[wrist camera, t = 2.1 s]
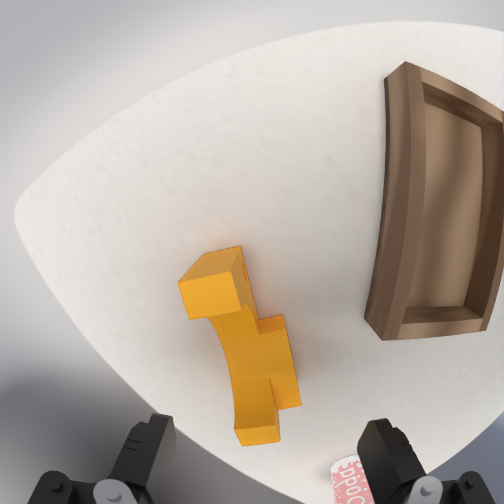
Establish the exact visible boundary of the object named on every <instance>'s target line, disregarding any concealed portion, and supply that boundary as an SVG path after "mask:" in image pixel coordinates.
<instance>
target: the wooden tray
mask: <svg viewBox="0 0 504 504" xmlns="http://www.w3.org/2000/svg"><path fill="white" fill-rule="evenodd" d="M384 84H385V102H386V161H385V181H384V194H383V206H382V216H381V224H380V233H379V240H378V247H377V254H376V260H375V266H374V272H373V277H372V283H371V288H370V293H369V298H368V302H367V307H366V312H365V316H364V319H365V320H366V321H367V323H368V324H369V325H370V326H371V327H372V329H373V330H374V331H375V333H376V334H377V335H378V336H379V338H380V339H381V340H382V341H386V340H404V339H418V338H430V337H440V336H449V335H457V334H465V333H472V332H479V331H486V329H487V326H488V323H489V320H490V317H491V314H492V311H493V308H494V304H495V301H496V297H497V293H498V289H499V285H500V281H501V277H502V272H503V268H504V112H503V111H502V110H500V109H499V108H497V107H496V106H494V105H493V104H491V103H490V102H488V101H486V100H485V99H483V98H481V97H480V96H478V95H476V94H475V93H473V92H471V91H469V90H467V89H466V88H464V87H462V86H460V85H458V84H456V83H454V82H452V81H450V80H448V79H446V78H444V77H442V76H440V75H438V74H435V73H433V72H431V71H428V70H426V69H424V68H421V67H419V66H416V65H414V64H411V63H409V62H406V61H405V62H404V63H403V64H402V65H400V66H399V67H398V68H397V69H396V70H394V71H393V72H392V73H391V74H390V75H388V76H387V77H386V78H385V79H384Z"/></svg>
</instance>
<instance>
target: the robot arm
mask: <svg viewBox="0 0 504 504" xmlns="http://www.w3.org/2000/svg"><path fill="white" fill-rule="evenodd" d="M175 447H176V434H175V429H174V423H173V417H172V416H168V415H163V414H158V413H153V414H152V416H151V418H150V420H149V423H144V422H139V423H138V424H137V425H135V426H134V427H133V428H132V429H131V430H130V433H129V435H128V437H127V440H126V441H125V443H124V445H123V448H122V450H121V452H120V454H119V456H118V458H117V460H116V463H115V465H114V467H113V469H112V471H111V473H110V475H109V476H108V478H106V479H105V480H103V481H100V482H99V483H84V482H78V481H72V480H70V479H69V478H68V477H67V476H66V475H65V474H63V473H61V472H59V471H48V472H46V473H44V474H43V475H42V476H41V478H40V480H39V482H38V484H37V486H36V487H35V489H34V491H33V493H32V496H31V497H30V499H29V502H28V504H160V503H161V499H162V495H163V492H164V488H165V484H166V481H167V477H168V474H169V470H170V466H171V463H172V459H173V456H174V452H175ZM357 452H358V456H359V459H360V461H361V464H362V467H363V470H364V473H365V476H366V479H367V482H368V485H369V488H370V491H371V494H372V497H373V500H374V503H375V504H495V502H494V500H493V498H492V496H491V494H490V492H489V490H488V488H487V486H486V484H485V483H484V481H483V479H482V477H481V476H480V475H479V474H478V473H477V472H474V471H468V472H465V473H464V474H463V475H461V476H460V477H459V479H457V480H450V481H442V482H441V481H440V480H438V479H437V478H435V477H432V476H427V475H426V473H425V471H424V469H423V467H422V465H421V463H420V461H419V460H418V458H417V456H416V454H415V452H414V451H413V448H412V446H411V445H410V444H409V441H408V439H407V437H406V435H405V434H404V433H403V432H402V431H401V430H399V429H398V428H397V427H395V428H393V427H392V425H391V423H390V422H389V420H388V419H387V418H384V419H378V420H371V421H369V422H368V424H367V426H366V428H365V430H364V432H363V434H362V436H361V438H360V439H359V441H358V445H357Z"/></svg>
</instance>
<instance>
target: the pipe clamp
mask: <svg viewBox="0 0 504 504" xmlns="http://www.w3.org/2000/svg"><path fill="white" fill-rule="evenodd" d="M178 287H179V290H180V293H181V296H182V299H183V302H184V305H185V308H186V311H187V314H188V317H189V320H193V319H199V318H204V317H208V319H209V320H210V321H211V323H212V324H213V326H214V328H215V329H216V331H217V334H218V336H219V338H220V341H221V344H222V346H223V349H224V353H225V356H226V360H227V363H228V368H229V372H230V377H231V383H232V389H233V397H234V411H235V423H234V431H235V433H236V435H237V437H238V439H239V441H240V443H241V446H251V445H260V444H268V443H275V442H280V427H279V414H278V410H282V409H287V408H292V407H297V406H302V405H301V399H300V394H299V388H298V383H297V378H296V373H295V368H294V363H293V359H292V354H291V349H290V344H289V340H288V335H287V330H286V326H285V321H284V317H283V314H282V315H278V316H273V317H269V318H264V319H259V317H258V313H257V309H256V305H255V301H254V298H253V294H252V290H251V286H250V282H249V278H248V274H247V270H246V266H245V262H244V258H243V254H242V250H241V246H236V247H232V248H228V249H223V250H219V251H215V252H210V253H206V254H203V255H202V256H201V257H200V258H199V260H198V261H197V262H196V263H195V264H194V265H193V266H192V267H191V268H190V269H189V270H188V272H187V273H186V274H185V275H184V276H183V277H182V278H181V279H180V280H179V281H178Z"/></svg>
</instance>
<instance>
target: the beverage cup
mask: <svg viewBox="0 0 504 504" xmlns="http://www.w3.org/2000/svg"><path fill="white" fill-rule="evenodd" d="M330 471H331V478H332V486H333V494H334V502H335V504H375V503H374V500H373V497H372V494H371V491H370V488H369V485H368V482H367V479H366V476H365V473H364V470H363V467H362V464H361V461H360V459H359V456H358V455H354V456H349V457H346V458H344V459H341V460H339V461H338V462H336V463H335V464H334V465H333V466H332V467H331V470H330Z"/></svg>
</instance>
